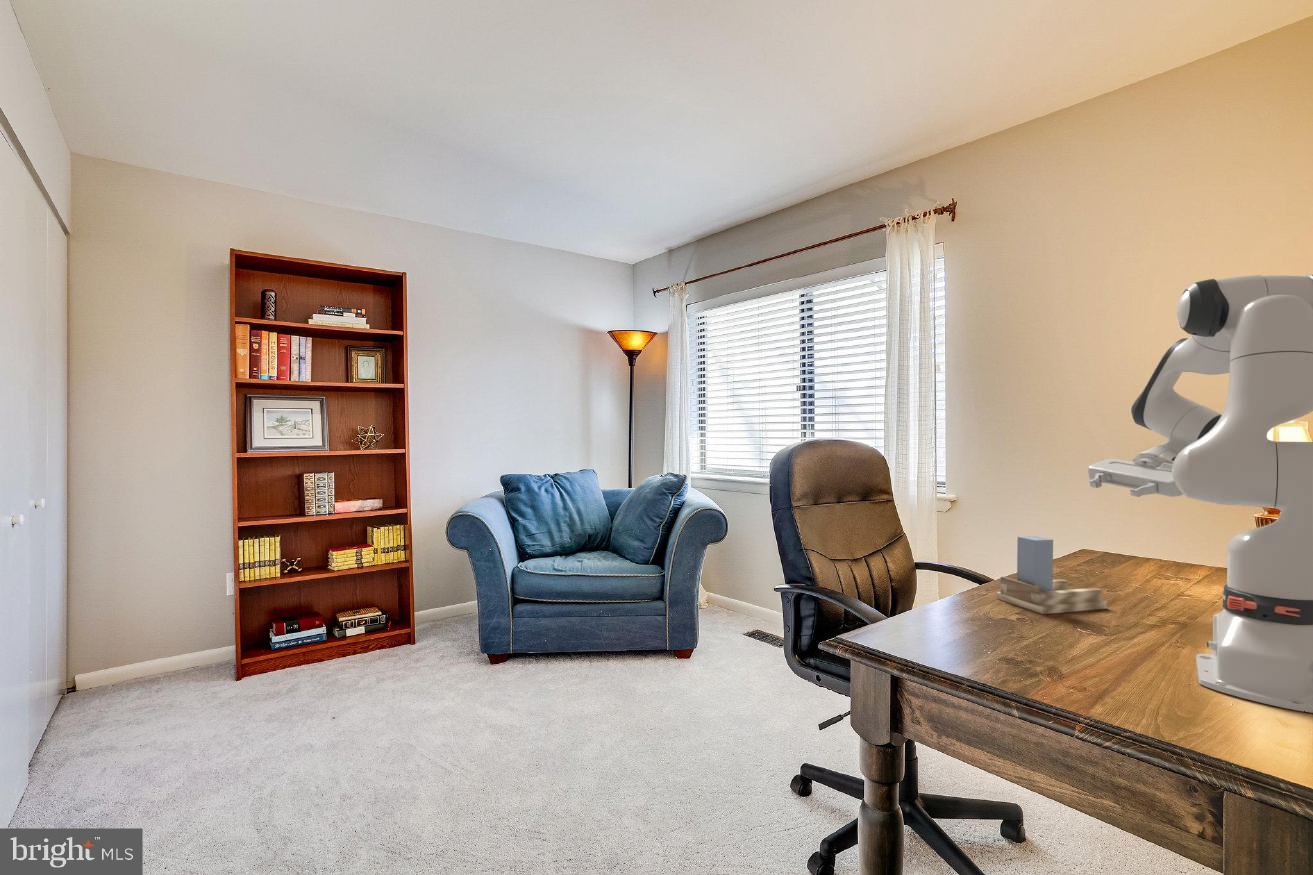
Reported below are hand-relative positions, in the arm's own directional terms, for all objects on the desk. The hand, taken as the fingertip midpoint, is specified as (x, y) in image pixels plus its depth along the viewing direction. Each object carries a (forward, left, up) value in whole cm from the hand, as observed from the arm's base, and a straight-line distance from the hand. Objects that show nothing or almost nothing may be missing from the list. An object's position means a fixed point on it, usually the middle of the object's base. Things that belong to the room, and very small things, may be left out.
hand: (1112, 488), depth 143 cm
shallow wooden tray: (-8, +10, -27) cm, 30 cm away
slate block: (-12, +12, -26) cm, 31 cm away
